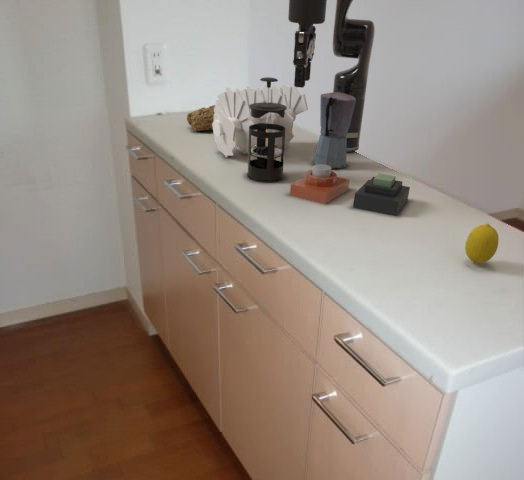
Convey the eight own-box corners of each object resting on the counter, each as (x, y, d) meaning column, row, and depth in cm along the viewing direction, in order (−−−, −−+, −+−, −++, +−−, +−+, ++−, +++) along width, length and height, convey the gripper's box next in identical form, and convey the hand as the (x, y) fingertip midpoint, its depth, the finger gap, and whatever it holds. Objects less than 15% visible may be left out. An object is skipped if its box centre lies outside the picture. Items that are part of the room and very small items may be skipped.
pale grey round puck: (317, 171, 133) (318, 163, 132) (333, 175, 131) (334, 166, 130) (308, 176, 130) (309, 167, 129) (325, 180, 128) (325, 171, 127)
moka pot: (352, 160, 156) (362, 82, 144) (341, 176, 144) (350, 93, 132) (320, 155, 158) (327, 79, 146) (305, 171, 146) (312, 89, 134)
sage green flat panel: (377, 180, 127) (378, 173, 126) (394, 183, 126) (395, 176, 125) (372, 185, 124) (374, 178, 123) (390, 188, 123) (391, 181, 122)
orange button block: (314, 182, 139) (315, 164, 136) (348, 190, 135) (350, 171, 132) (289, 195, 131) (291, 176, 128) (325, 204, 127) (327, 184, 124)
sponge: (198, 138, 173) (255, 121, 177) (190, 112, 169) (249, 95, 173) (187, 136, 184) (241, 119, 188) (180, 111, 180) (236, 95, 184)
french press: (288, 182, 138) (295, 82, 125) (252, 184, 136) (254, 82, 122) (276, 168, 147) (281, 73, 134) (242, 169, 145) (243, 73, 132)
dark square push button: (366, 193, 133) (369, 172, 131) (407, 201, 130) (411, 180, 127) (352, 208, 125) (355, 186, 122) (396, 216, 122) (400, 194, 119)
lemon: (456, 257, 106) (466, 218, 101) (484, 257, 106) (495, 218, 101) (467, 271, 101) (478, 230, 96) (496, 270, 102) (509, 230, 97)
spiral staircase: (211, 168, 158) (282, 152, 169) (239, 155, 143) (315, 139, 154) (193, 101, 154) (268, 89, 164) (220, 81, 138) (300, 70, 149)
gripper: (323, -3, 104) (315, 91, 114) (330, -6, 116) (322, 79, 125) (284, -5, 105) (279, 88, 115) (294, -8, 117) (289, 77, 126)
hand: (302, 83), depth 120 cm, fingers open, 8 cm apart
